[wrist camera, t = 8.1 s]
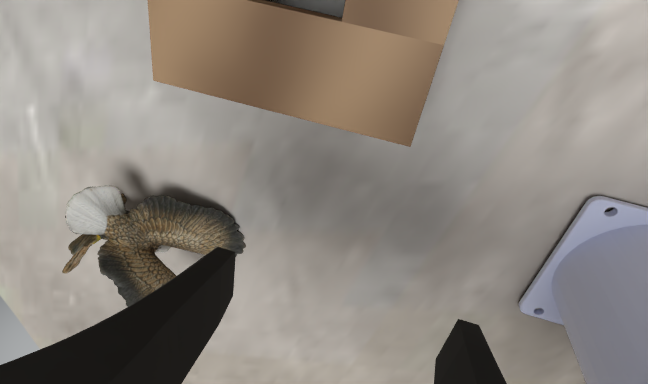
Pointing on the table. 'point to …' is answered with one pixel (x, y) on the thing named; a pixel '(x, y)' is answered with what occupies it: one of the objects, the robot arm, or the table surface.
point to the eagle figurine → (143, 236)
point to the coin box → (307, 58)
